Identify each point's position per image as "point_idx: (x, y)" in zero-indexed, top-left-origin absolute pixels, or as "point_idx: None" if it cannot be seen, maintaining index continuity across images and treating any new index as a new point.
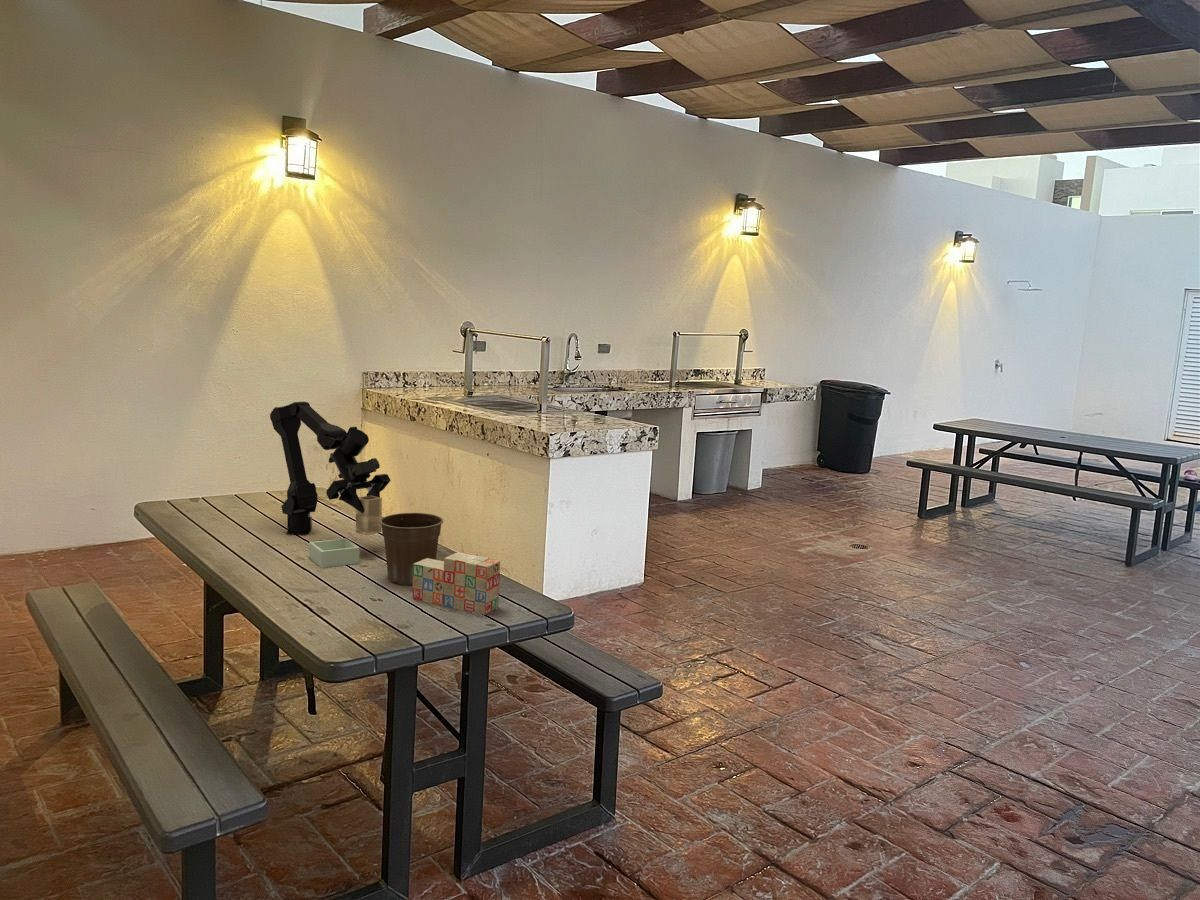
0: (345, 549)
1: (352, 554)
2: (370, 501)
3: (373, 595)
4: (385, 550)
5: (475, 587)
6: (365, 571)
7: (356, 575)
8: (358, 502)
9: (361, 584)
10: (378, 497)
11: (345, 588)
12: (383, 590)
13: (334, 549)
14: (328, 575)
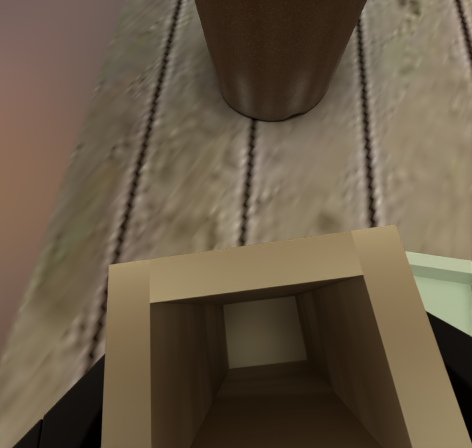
0: (410, 252)
1: None
2: (311, 240)
3: (405, 24)
4: (359, 14)
5: None
6: (348, 175)
7: (386, 156)
8: (469, 342)
9: (402, 91)
10: (118, 332)
11: (452, 82)
12: (370, 40)
13: (460, 272)
14: (467, 193)
